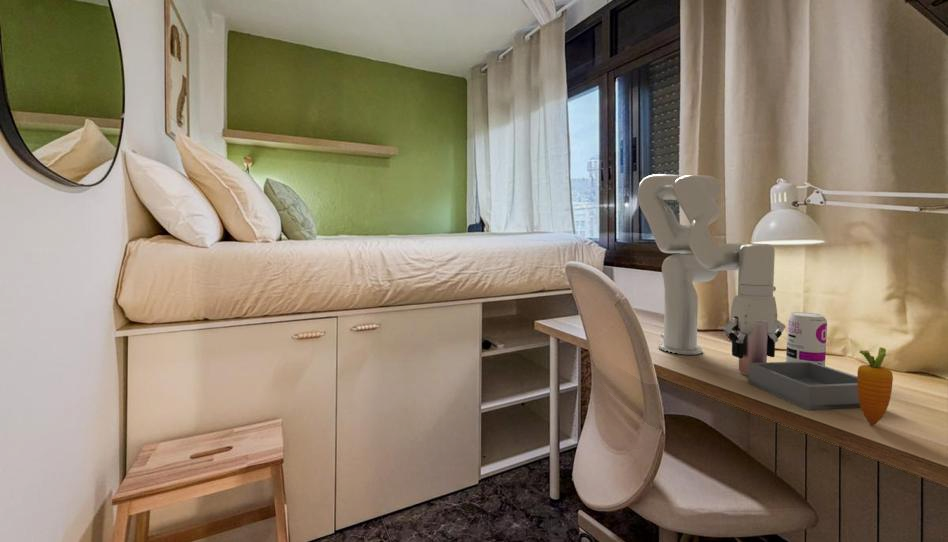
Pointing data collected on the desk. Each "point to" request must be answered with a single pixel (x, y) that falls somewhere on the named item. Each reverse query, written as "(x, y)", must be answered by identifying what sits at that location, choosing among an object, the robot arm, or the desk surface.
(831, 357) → the desk surface
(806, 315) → the supplement can
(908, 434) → the desk surface
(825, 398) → the tray
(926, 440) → the desk surface
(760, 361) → the beverage can
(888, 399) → the carrot
